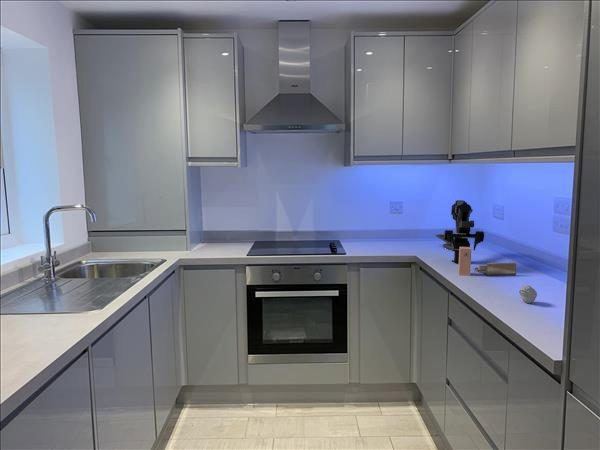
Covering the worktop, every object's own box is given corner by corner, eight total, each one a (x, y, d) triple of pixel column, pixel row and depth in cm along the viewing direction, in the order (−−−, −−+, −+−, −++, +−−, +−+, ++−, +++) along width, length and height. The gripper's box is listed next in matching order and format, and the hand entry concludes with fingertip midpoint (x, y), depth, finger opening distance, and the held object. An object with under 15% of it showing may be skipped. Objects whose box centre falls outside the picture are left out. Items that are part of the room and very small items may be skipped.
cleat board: (474, 269, 229) (475, 258, 229) (501, 269, 231) (501, 257, 230) (487, 276, 216) (488, 263, 216) (515, 275, 218) (516, 263, 217)
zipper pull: (446, 234, 305) (464, 240, 280) (446, 244, 306) (464, 250, 281) (434, 234, 304) (451, 240, 279) (433, 244, 305) (450, 251, 280)
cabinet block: (458, 272, 223) (459, 246, 221) (469, 273, 222) (470, 247, 220) (459, 275, 217) (460, 248, 216) (470, 276, 216) (471, 249, 214)
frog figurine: (514, 302, 175) (515, 284, 174) (525, 299, 178) (526, 282, 178) (529, 306, 170) (530, 288, 169) (540, 303, 173) (541, 285, 172)
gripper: (445, 214, 228) (445, 239, 219) (485, 215, 224) (486, 240, 214) (443, 227, 237) (444, 252, 228) (482, 229, 232) (483, 254, 223)
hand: (464, 249), depth 223 cm, fingers open, 9 cm apart
